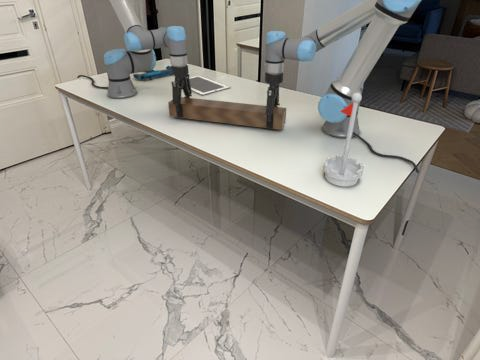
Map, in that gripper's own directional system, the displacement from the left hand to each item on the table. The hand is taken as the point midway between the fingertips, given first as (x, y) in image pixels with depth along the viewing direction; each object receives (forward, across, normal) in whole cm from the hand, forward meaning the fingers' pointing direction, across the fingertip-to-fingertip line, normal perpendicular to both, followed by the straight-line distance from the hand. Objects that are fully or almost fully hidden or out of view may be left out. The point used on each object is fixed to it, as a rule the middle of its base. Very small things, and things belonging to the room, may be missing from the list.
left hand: (184, 113), depth 161 cm
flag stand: (+2, +34, +75) cm, 82 cm away
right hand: (0, 0, +43) cm, 43 cm away
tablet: (+2, -49, -12) cm, 50 cm away
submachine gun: (+3, -63, -48) cm, 79 cm away
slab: (0, 0, +21) cm, 21 cm away
